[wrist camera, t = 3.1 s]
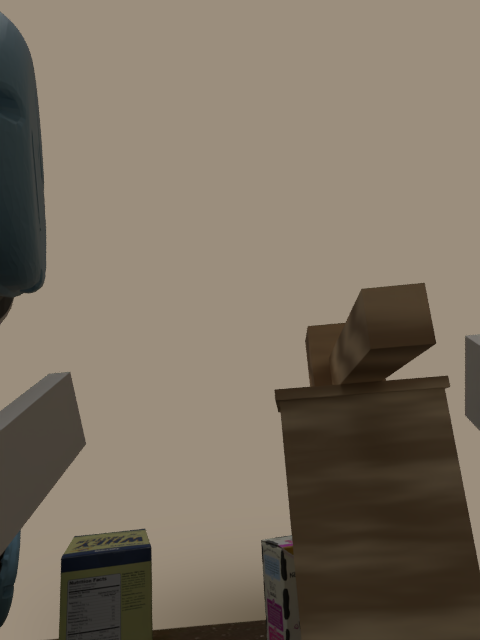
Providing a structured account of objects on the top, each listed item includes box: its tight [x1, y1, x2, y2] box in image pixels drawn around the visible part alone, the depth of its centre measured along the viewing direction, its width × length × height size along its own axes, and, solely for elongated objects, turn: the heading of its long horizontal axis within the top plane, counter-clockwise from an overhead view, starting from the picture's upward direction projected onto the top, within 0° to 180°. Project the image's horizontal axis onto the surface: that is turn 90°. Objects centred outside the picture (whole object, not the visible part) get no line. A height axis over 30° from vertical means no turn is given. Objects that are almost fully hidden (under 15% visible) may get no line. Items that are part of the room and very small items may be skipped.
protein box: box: [59, 529, 152, 640], centre depth 58 cm, size 10×16×16 cm
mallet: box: [305, 283, 436, 387], centre depth 33 cm, size 24×6×6 cm, turn 174°
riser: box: [275, 376, 480, 640], centre depth 35 cm, size 13×13×30 cm
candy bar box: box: [261, 535, 301, 640], centre depth 47 cm, size 11×5×16 cm, turn 115°
